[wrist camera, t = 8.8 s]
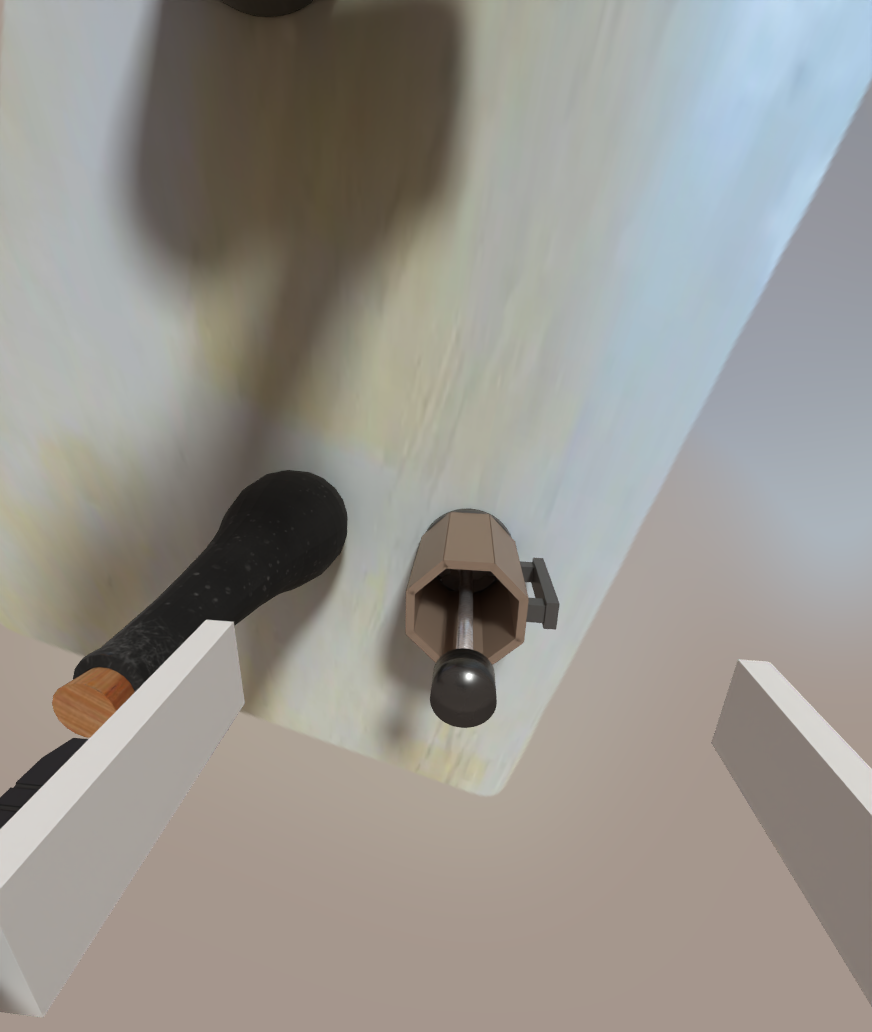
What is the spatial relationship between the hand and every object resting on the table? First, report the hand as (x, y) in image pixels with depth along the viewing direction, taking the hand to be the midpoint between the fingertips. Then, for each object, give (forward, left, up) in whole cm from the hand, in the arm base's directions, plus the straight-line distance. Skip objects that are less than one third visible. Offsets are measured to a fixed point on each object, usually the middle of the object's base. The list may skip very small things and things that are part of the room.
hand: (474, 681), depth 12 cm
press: (+11, +1, -35) cm, 37 cm away
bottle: (+7, -17, -35) cm, 40 cm away
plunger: (+11, 0, -33) cm, 35 cm away
